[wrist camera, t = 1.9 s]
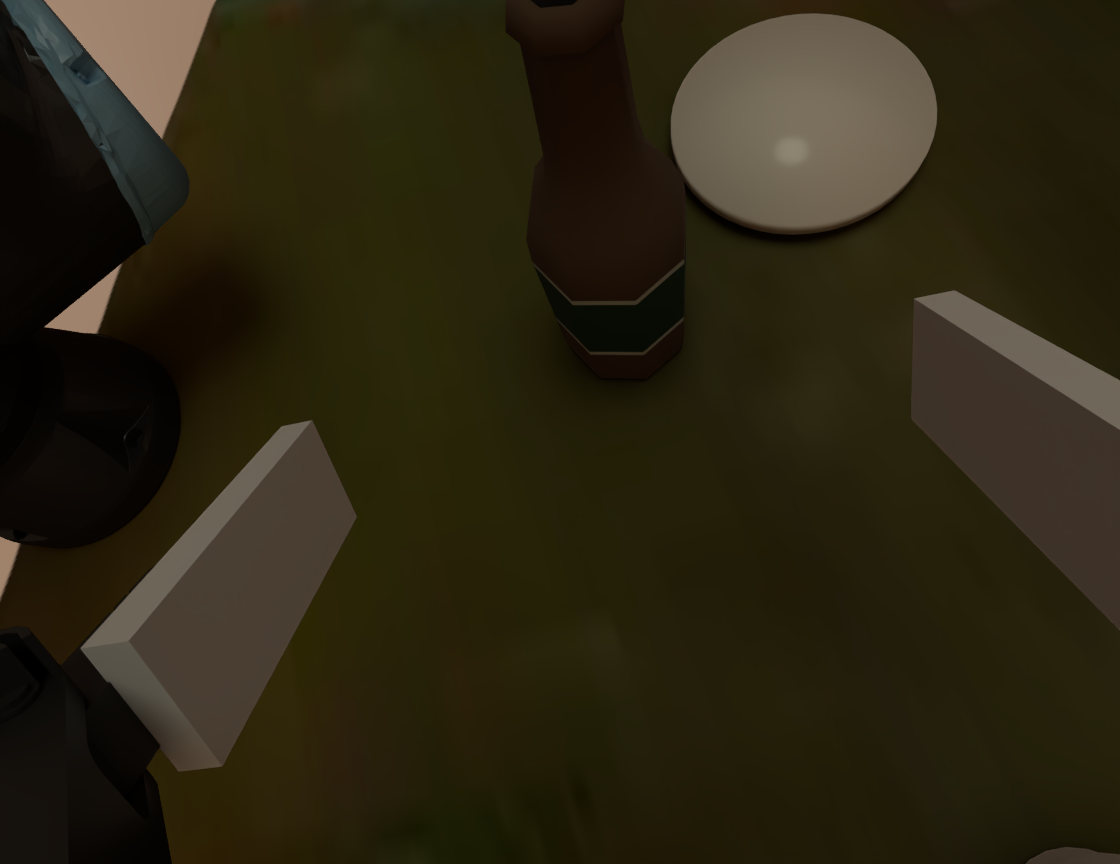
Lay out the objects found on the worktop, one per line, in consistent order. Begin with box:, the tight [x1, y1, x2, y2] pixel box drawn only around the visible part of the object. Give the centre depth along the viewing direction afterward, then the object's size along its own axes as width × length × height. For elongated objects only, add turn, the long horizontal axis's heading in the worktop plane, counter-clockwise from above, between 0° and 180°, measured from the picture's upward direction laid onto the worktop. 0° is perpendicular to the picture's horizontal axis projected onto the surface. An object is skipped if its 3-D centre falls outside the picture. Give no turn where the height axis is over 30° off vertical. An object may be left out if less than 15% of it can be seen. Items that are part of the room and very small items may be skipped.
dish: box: [671, 14, 937, 235], centre depth 41 cm, size 16×16×2 cm
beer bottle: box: [506, 0, 686, 379], centre depth 29 cm, size 8×8×24 cm
